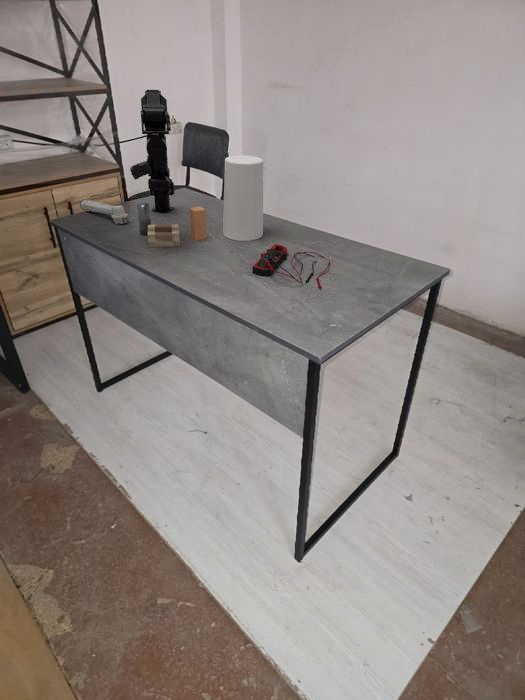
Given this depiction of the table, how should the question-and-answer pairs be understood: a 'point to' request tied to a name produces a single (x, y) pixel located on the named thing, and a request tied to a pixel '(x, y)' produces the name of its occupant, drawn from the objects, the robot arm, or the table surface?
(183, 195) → the table surface
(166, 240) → the socket block
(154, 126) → the robot arm
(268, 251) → the digital clamp meter
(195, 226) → the square bit
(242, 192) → the cylinder
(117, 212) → the grey knobbed rod
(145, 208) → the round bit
